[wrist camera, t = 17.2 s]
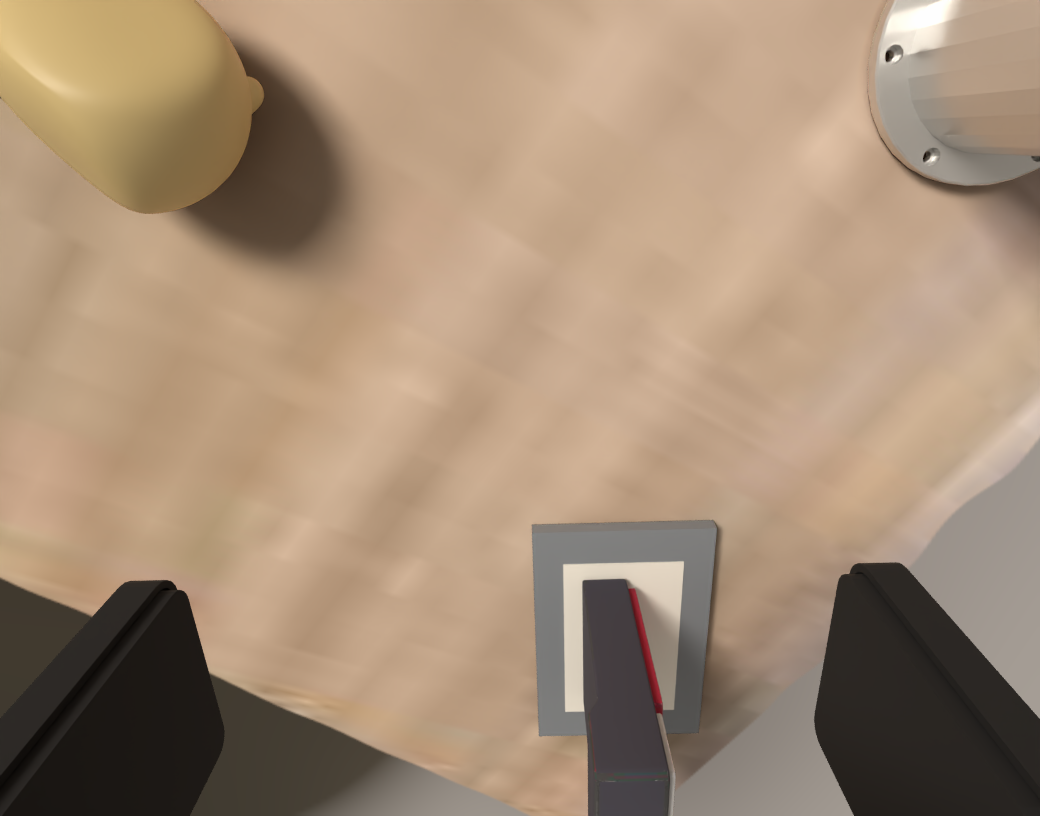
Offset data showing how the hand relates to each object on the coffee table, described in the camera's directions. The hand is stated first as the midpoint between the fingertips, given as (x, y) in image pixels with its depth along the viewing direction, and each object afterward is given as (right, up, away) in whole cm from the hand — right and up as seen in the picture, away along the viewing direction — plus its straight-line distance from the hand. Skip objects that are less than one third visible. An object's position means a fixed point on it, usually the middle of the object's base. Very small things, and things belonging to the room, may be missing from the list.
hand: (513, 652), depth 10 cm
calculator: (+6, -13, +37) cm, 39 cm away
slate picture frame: (+7, -12, +38) cm, 40 cm away
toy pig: (-18, +20, +25) cm, 37 cm away
